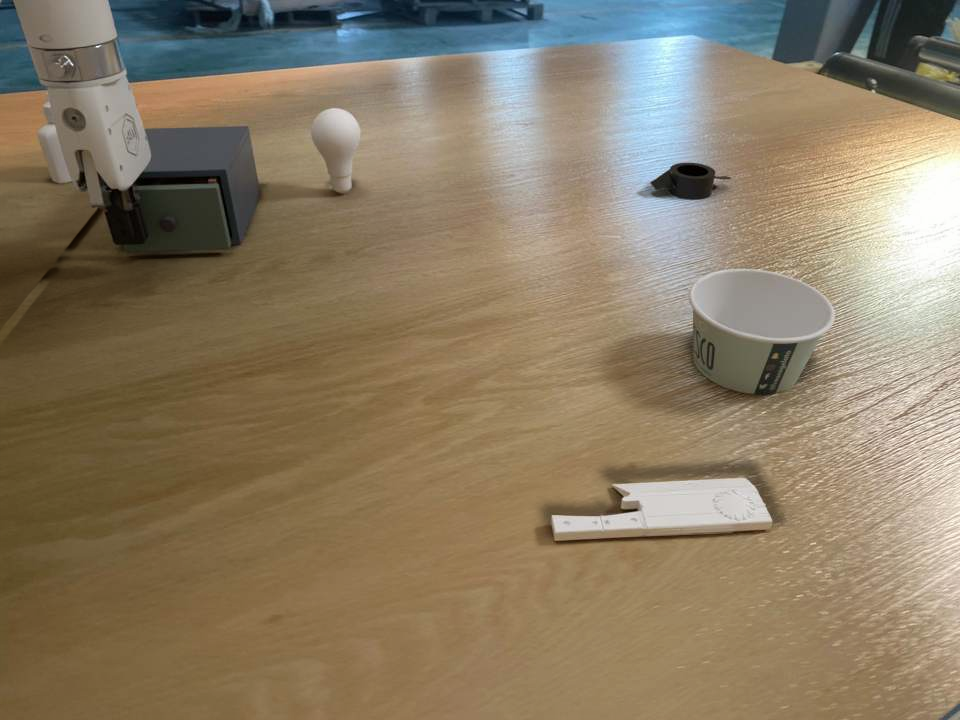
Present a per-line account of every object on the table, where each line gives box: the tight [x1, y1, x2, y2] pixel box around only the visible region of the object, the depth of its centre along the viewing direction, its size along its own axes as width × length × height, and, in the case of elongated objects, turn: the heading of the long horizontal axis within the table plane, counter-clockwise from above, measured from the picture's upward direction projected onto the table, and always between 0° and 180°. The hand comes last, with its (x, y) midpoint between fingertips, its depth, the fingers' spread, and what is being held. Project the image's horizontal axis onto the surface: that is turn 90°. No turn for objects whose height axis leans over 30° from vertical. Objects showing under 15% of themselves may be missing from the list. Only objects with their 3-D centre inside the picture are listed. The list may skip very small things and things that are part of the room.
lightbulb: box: [310, 107, 362, 195], centre depth 97 cm, size 6×6×11 cm
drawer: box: [122, 176, 232, 253], centre depth 88 cm, size 15×11×7 cm
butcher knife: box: [550, 477, 773, 542], centre depth 54 cm, size 5×15×1 cm, turn 94°
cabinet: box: [138, 125, 261, 246], centre depth 91 cm, size 15×13×9 cm
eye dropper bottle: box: [37, 92, 72, 184], centre depth 100 cm, size 4×6×12 cm
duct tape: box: [649, 162, 732, 201], centre depth 100 cm, size 8×10×3 cm
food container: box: [688, 268, 836, 395], centre depth 67 cm, size 12×12×7 cm
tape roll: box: [149, 177, 208, 186], centre depth 87 cm, size 6×6×5 cm
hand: (132, 240), depth 81 cm, fingers closed
